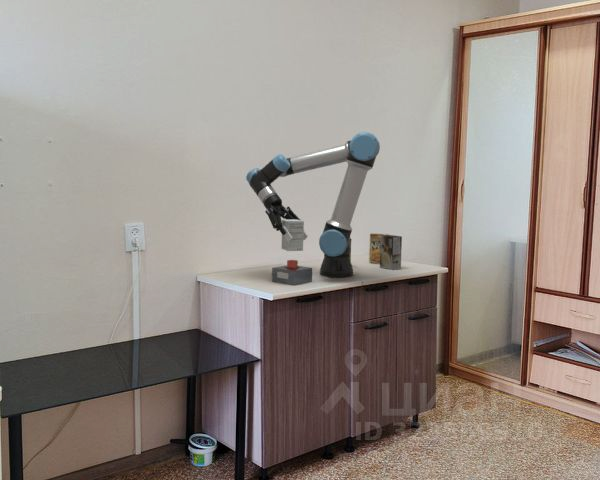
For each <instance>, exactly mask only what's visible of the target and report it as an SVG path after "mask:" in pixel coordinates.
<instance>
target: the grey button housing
mask: <svg viewBox="0 0 600 480" xmlns="http://www.w3.org/2000/svg"><path fill="white" fill-rule="evenodd" d="M271 282H272V283H276V284H283V285H288V286H298V285H304V284H308V283H312V282H313V267H309V266H303V265H298V268H297V269H288V268H287V264H286V265H281V266H280V265H279V266H275V267H272V268H271Z"/></svg>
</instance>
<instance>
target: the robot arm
mask: <svg viewBox="0 0 600 480" xmlns="http://www.w3.org/2000/svg"><path fill="white" fill-rule="evenodd" d="M380 148H381V147H380V142H379V140H378V138H377V136H375V135H374V134H373V133H371V132H367V131H363V132H362V131H361V132H359V133H357V134H355V135H354V136H353V137H352V139H351V140H347V141H346V142H345V144H340V145H336V146H332V147H328V148H324V149H321V150H316V151H312V152H308V153H304V154H300V155H296V156H295V155H294V156H292V157H287V158H286V157H285V156H284V155H283V154H281V153H279V154H277V155H275V156H274V157H273V158H272V159H271V160H270V161H269V162H268V163H267V164H266V165H265V166H264V167H262V168H261V169H259V168H253V169H251V170H250V171H248V173H247V174H246V176H245V177H246V181H247V183H248V185H249V186H250V188H251V189H252V191H253V192H254V193H255V195H256V196H257V197H258V199H259V200H260V202H261V203H262V204H263V206H264V208H265V209H266V210H265V211H264V212H265V213H266V215H267V217H268V219H269V221H270V223H271V226H272V228H273V229H275V231H277V232H278V231H279V233H281V236H282V235H283V236H284V237H285V239H286V240H287V242H290V240H291V239H292V238H293V237H292V236H291V235H290V233H289V232H288V230H287V229H286V227H285V226H283V227H282V218H283V220H290V219H297V220H301V218H299V217H298V215H296V214H295V212H294V211H293V210H292V209H291V207H290V206H287V207H285V206H284V205H283V201H282V198H281V197H280V196H279V195H278V193H277V192H276V190H275V189H274V187H273V186H272V185H271V184H273V183H274V182H275V181H276V180H277V179H279V178H284V177H288V176H291V175H294V174H299V173H304V172H308V171H312V170H316V169H320V168H324V167H328V166H332V165H337V164H341V163H342V164H343V163H347V168H346V171H345V174H344V177H343V181H342V184H341V186H340V189H339V193H338V196H337V199H336V202H335V205H334V207H333V212H332V214H331V217H330V219H328V220H326V221H325V223H324V228H323V231H322V234H321V235H320V237H319V239H318V240H319V241H318V244H319V248H320V251H321V252H322V253H323V260H322V262H321V265H320V269H319V275H321V276H323V277H330V278H347V277H349V278H350V277H352V276H354V269H353V265H352V260H351V261H350V238H351V235H352V231H353V228H352V226H351V223H352V219H353V217H354V213H355V210H356V208H357V205H358V201H359V198H360V196H361V193H362V189H363V186H364V183H365V180H366V177H367V174H368V172H369V171H371V170H372V169H373V167H374V165H375V162H376V159H377V156H378V155H379V153H380ZM308 237H309V234H307V232H306V231H305V230H304V233H303V241H306V239H307V238H308Z"/></svg>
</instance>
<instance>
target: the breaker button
mask: <svg viewBox="0 0 600 480" xmlns="http://www.w3.org/2000/svg"><path fill="white" fill-rule="evenodd" d="M286 262H287V264H286V265H287V268H288V269H297V268H298V266H299V265H298V260H296V259H288V260H287V261H286Z"/></svg>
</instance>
